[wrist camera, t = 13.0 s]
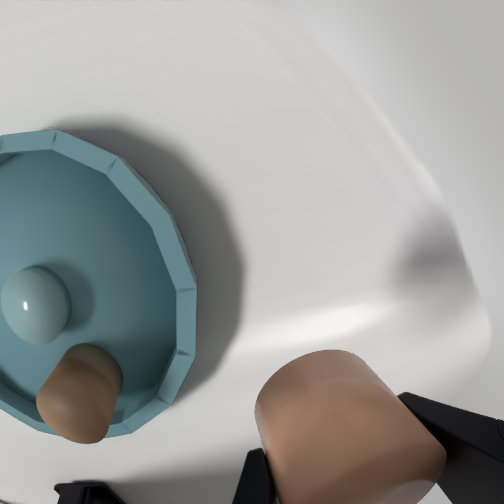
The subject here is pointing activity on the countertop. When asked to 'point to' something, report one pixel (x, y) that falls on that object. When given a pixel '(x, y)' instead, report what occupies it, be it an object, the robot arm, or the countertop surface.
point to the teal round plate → (89, 276)
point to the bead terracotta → (343, 435)
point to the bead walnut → (81, 394)
